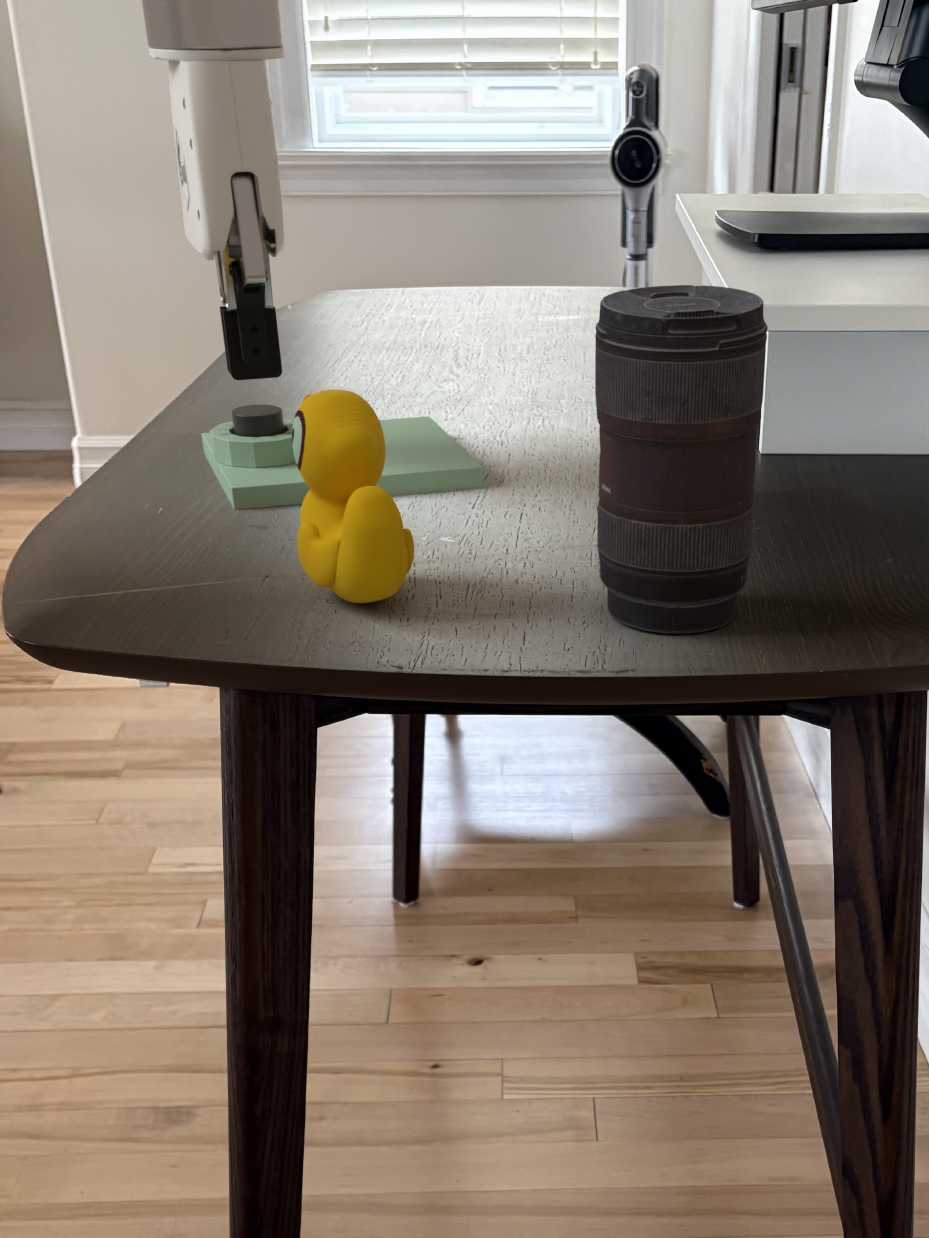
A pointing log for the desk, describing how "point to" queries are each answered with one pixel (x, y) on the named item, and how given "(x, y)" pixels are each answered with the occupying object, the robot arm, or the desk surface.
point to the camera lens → (677, 451)
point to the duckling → (347, 500)
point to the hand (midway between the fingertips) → (255, 375)
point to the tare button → (258, 421)
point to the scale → (273, 479)
